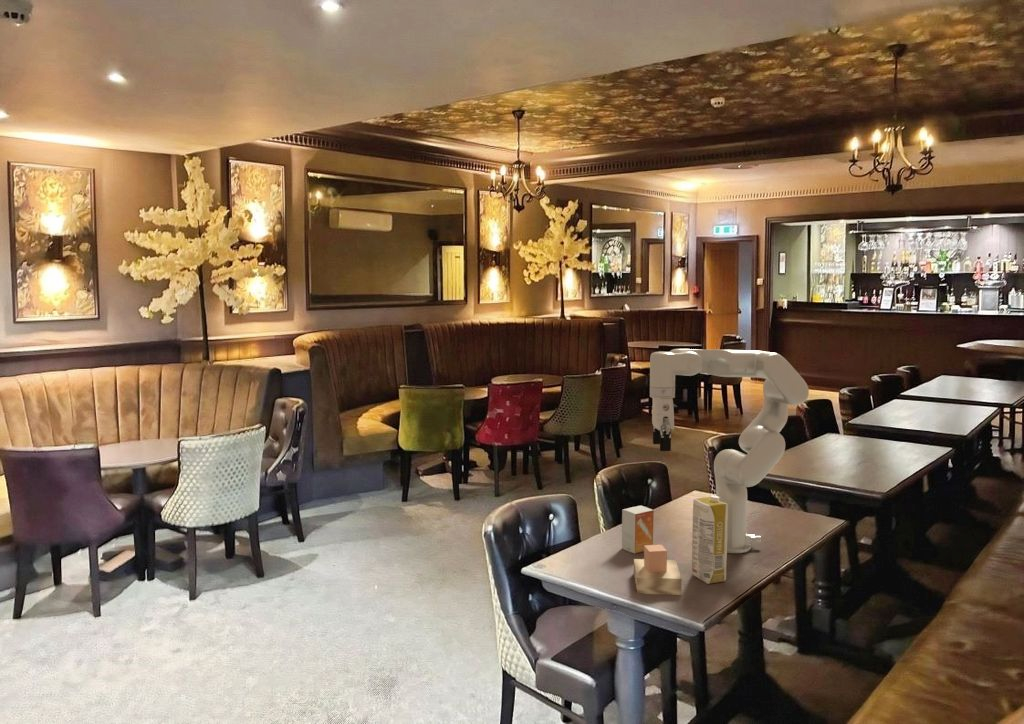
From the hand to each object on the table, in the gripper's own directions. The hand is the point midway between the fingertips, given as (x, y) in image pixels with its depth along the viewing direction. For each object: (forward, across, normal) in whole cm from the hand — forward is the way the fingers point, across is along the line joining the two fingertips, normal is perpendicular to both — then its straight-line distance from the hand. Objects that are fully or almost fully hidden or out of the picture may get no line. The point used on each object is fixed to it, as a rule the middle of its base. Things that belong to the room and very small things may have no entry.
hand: (661, 447), depth 233 cm
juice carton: (+34, -19, -10) cm, 41 cm away
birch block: (+35, -22, +6) cm, 42 cm away
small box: (+34, +6, +6) cm, 36 cm away
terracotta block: (+30, -22, +6) cm, 38 cm away
